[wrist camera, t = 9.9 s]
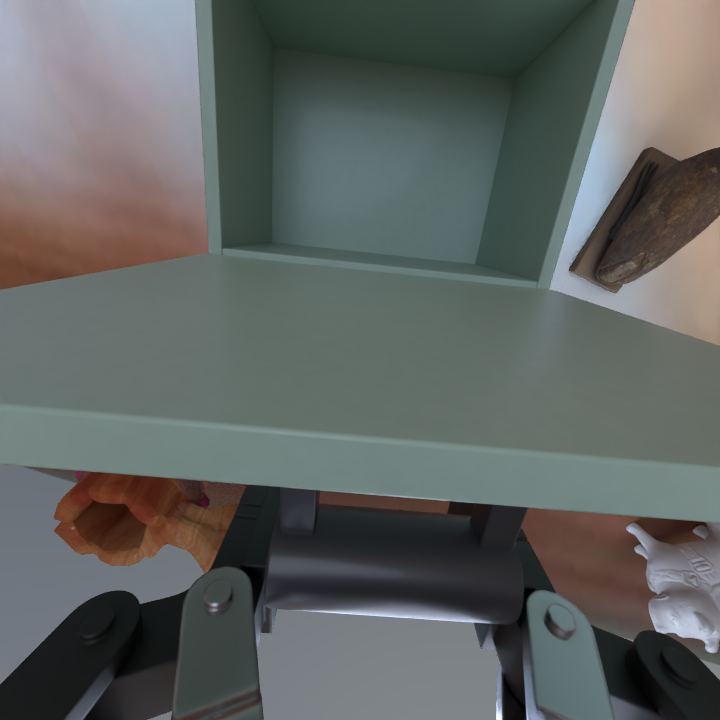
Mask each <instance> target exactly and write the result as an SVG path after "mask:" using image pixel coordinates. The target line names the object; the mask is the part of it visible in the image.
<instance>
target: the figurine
mask: <svg viewBox="0 0 720 720" xmlns="http://www.w3.org/2000/svg"><path fill="white" fill-rule="evenodd" d="M719 215H720V147H719V148H714V149H711V150H708V151H705V152H702V153H700V154H698V155H695V156H693V157H690V158H688V159H685V160H683V161H678V160H676V159H674V158H673V157H671V156H669V155H667V154H665V153H663V152H661V151H659V150H657V149H655V148H653V147H650V148H647V149H645V150H643V152H642V153H641V155H640V157H639V158H638V160H637V162H636V163H635V165H634V166H633V168H632V170H631V171H630V173H629V174H628V176H627V178H626V179H625V181H624V182H623V184H622V186H621V187H620V189H619V190H618V192H617V194H616V195H615V197H614V198H613V200H612V201H611V203H610V205H609V206H608V208H607V209H606V211H605V213H604V214H603V216H602V217H601V219H600V220H599V222H598V224H597V225H596V227H595V229H594V230H593V232H592V233H591V235H590V237H589V238H588V240H587V241H586V243H585V245H584V246H583V248H582V249H581V251H580V253H579V254H578V256H577V257H576V259H575V261H574V262H573V264H572V266H571V267H570V269H569V271H571V272H573V273H575V274H577V275H579V276H581V277H583V278H585V279H587V280H589V281H591V282H593V283H594V284H596V285H598V286H600V287H602V288H604V289H606V290H608V291H610V292H613V293H617V292H618V291H619V289H620V288H621V287H622V285H623V284H626V283H629V282H632V281H634V280H636V279H637V278H639V277H641V276H642V275H644V274H646V273H647V272H649V271H651V270H653V269H655V268H656V267H658V266H659V265H661V264H662V263H663V262H664V261H666V260H667V259H668V258H669V257H671V256H672V255H673V254H674V253H676V252H677V251H678V250H680V249H681V248H682V247H683V246H685V245H686V244H687V243H689V242H690V241H691V240H693V239H694V238H695V237H696V236H697V235H699V234H700V233H701V232H702V231H703V230H704V229H706V228H707V227H708V226H709V225H710V224H711V223H712V222H713V221H714V220H715V219H716V218H717V217H718V216H719Z"/></svg>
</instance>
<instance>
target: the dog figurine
mask: <svg viewBox="0 0 720 720" xmlns="http://www.w3.org/2000/svg"><path fill="white" fill-rule="evenodd" d="M705 523H706V524H707V526H708V528H706V527H704V526H702V525H700V526H697V527H695V528H694V529H693V533H694V534H696V535H698V536H700V537H702V538H704V540H703V541H694V542H687V543H679V544H675V545H672V544H670V543H663V542H659V541H658V540H656V539H654V538H653V537H652V536H650V535H649V534H648V533H647V532H646V531H645V530H644V529H642V528H641V527H640V526H639V525H638V524H637V523H631V524H629V525H628V526H627V527H626V530H627V531H628V532H630V533H632V534H634V535H635V536H636V537H637V538H638V540H639V541H640V542H641V544H639V545H637V546H636V547H635V548H634V549H635V552H637V553H638V554H641V555H643V556H644V557H645V558H646V559H647V560H648V561H647V571H646V576H647V582H648V585H649V588H650V589H651V590H652V591H654V592H656V593H657V594H658V595H656V596H654V597H653V598H652V599H651V600H650V601H649V604H648V606H649V613H650V616H651V618H652V621H653V624H654V627H655V629H656V631H657V632H660V633H662V634H666V633H668V632H672V633H677V634H678V635H679V636H681V637H683V638H686V637H690V638H697V639H700V640H703V641H704V642H705V644H706V646H705V649H706V650H707V651H708V652H710V653H715V652H717V651H718V646H719V638H720V523H712V522H705Z"/></svg>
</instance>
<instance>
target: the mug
mask: <svg viewBox="0 0 720 720" xmlns="http://www.w3.org/2000/svg"><path fill="white" fill-rule="evenodd" d="M76 477H77V479H78V480H79V481H78V483H77V484H76V485H75V487H73V488H72V489H71V490H70V491H69V492H68V493H67V494H66V495H65V496H64V497H63V499H61V501H60V502H59V503H58V506H57V509H56V512H55V515H54V518H55V519H56V520H60V521H61V523H60V524H59V525H58V527H57V528H56V529H55V530H54V531H55V532H56V533H57V534H58V535H59V536H60V537H61V538H62V539H63V540H64V541H65V542H66V543H67V544H68V545H69V546H70V547H71V548H72V549H73V550H74V551H75V552H77V553H79V554H81V555H82V554H92V553H94V554H96V555H97V556H98V558H99V559H100V560H101V561H103V562H105V563H107V564H109V565H112V566H130V565H133V564H136V563H138V562H139V561H141V560H142V558H143V557H146V558H151V557H153V556H155V555H156V554H157V552H158V551H159V550H160V549H161V548H162V546H163V545H166V544H170V545H173V546H176V547H178V548H181V549H185V550H187V551H188V552H190V553H191V554H192V556H193V557H194V558H195V560H196V561H197V562H198V564H199V565H200V567H201V568H202V570H203V572H204V573H207V572H208V571H209V569H210V568H211V566H212V564H213V562H214V559H215V557H216V555H217V553H218V550H219V548H220V546H221V543H222V541H223V539H224V537H225V534H226V532H227V530H228V528H229V525H230V523H231V521H232V519H233V517H234V514H235V512H236V509H237V507H238V505H239V504H236V505H232V506H222V507H218V508H213V509H206V508H207V506H208V505H209V499H208V497H207V496H206V495H205V489H206V487H207V485H208V484H209V482H210V481H199V480H187V479H175V478H163V477H151V476H138V475H126V474H114V473H102V472H90V471H77V472H76ZM244 485H245V486H246V487H247V486H248V484H244Z"/></svg>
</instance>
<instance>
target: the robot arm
mask: <svg viewBox="0 0 720 720" xmlns="http://www.w3.org/2000/svg"><path fill="white" fill-rule="evenodd" d="M280 488H281V487H273V486H260V485H248V486H247V487H246V489H245V491H244V494H243V496H242V498H241V500H240V504H239V505H238V507H237V509H236V512H235V514H234V517H233V519H232V521H231V523H230V525H229V528H228V530H227V532H226V534H225V537H224V539H223V541H222V543H221V546H220V548H219V550H218V553H217V555H216V557H215V559H214V562H213V564H212V566H211V568H210V569H209V571H208V572H207V573H205V574H204V575H202V576H201V577H200V578H199V579H197V580H196V581H195V582H194V584H193V585H192V586H191V587H190V589H188V590H186V591H185V592H182V593H180V594H178V595H175V596H171V597H167V598H164V599H160V600H155V601H151V602H147V603H143V604H139V601H138V599H137V598H136V597H135V596H134V595H133V594H132V593H130V592H127V591H110V592H106V593H103V594H100V595H98V596H95V597H94V598H91V599H90V600H88V601H86V602H85V603H83V604H82V605H80V606H79V607H78V608H77V609H75V610H74V611H73V612H72V613H71V614H70V615H69V616H68V617H67V618H66V619H65V620H64V621H63V622H62V623H61V624H60V625H59V626H58V627H57V628H56V629H55V630H54V631H53V632H52V633H51V634H50V635H49V636H48V637H47V638H46V639H45V640H44V641H43V642H42V643H41V644H40V645H39V646H38V647H37V648H36V649H35V650H34V651H33V652H32V653H31V654H30V655H29V656H28V657H27V658H26V659H25V660H24V661H23V662H22V663H21V664H20V665H19V666H18V667H17V668H16V669H15V670H14V671H13V672H12V673H11V674H10V675H9V676H8V677H7V678H6V679H5V680H4V681H3V682H2V683H1V684H0V720H147V719H150V718H153V717H156V716H158V715H161V714H164V713H167V712H170V711H172V716H171V720H264V717H263V707H262V697H261V693H260V684H259V672H258V658H257V648H258V644H259V640H260V635H261V633H272V629H273V625H274V620H275V616H276V611H277V609H271V608H267V607H266V606H265V603H264V579H265V570H266V563H267V556H268V550H269V545H270V540H271V535H272V530H273V526H274V522H275V519H276V516H277V513H278V510H279V508H280ZM474 505H475V503H468V502H456V501H450V505H449V509H448V513H447V514H455V515H467V516H471V515H472V511H473V508H474ZM515 542H516V545H517V548H518V551H519V555H520V559H521V563H522V569H523V577H524V601H523V607H522V611H521V614H520V616H519V618H518V619H517V621H516V622H514V623H512V624H510V625H503V624H488V623H474V622H473V623H474V626H475V630H476V633H477V637H478V640H479V644H480V647H481V649H493V650H496V651H497V655H498V658H499V661H500V665H499V667H498V670H497V677H496V680H497V682H496V684H497V686H496V688H497V720H720V680H719V679H718V678H717V677H716V676H715V675H714V674H713V673H712V672H711V671H710V670H709V669H708V668H707V667H706V665H705V664H704V663H703V662H702V661H701V660H700V659H699V658H698V657H697V656H696V655H695V654H693V653H692V652H691V651H690V650H689V649H688V648H686V647H685V646H684V645H682V644H681V643H679V642H678V641H676V640H675V639H673V638H671V637H669V636H667V635H665V634H662V633H660V632H656V631H651V630H646V631H642V632H640V633H639V634H638V635H637V637H636V638H635V640H634V641H633V642H632V641H630V640H627V639H624V638H622V637H619V636H617V635H614V634H612V633H609V632H607V631H604V630H601V629H599V628H597V627H594V626H592V625H590V623H589V622H588V620H587V618H586V617H585V616H584V615H583V613H582V612H581V611H580V610H579V609H578V608H577V607H576V606H575V605H574V604H573V603H571V602H570V601H569V600H567V599H566V598H564V597H562V596H561V595H559V594H557V593H556V592H555V590H554V588H553V586H552V584H551V582H550V580H549V579H548V577H547V575H546V573H545V571H544V569H543V567H542V565H541V564H540V562H539V560H538V558H537V556H536V554H535V552H534V550H533V549H532V547H531V545H530V543H529V541H527V537H526V535H525V534H524V532H523V530H522V529H521V528H520V531H519V533H518V536H517V539H516V541H515Z"/></svg>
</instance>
